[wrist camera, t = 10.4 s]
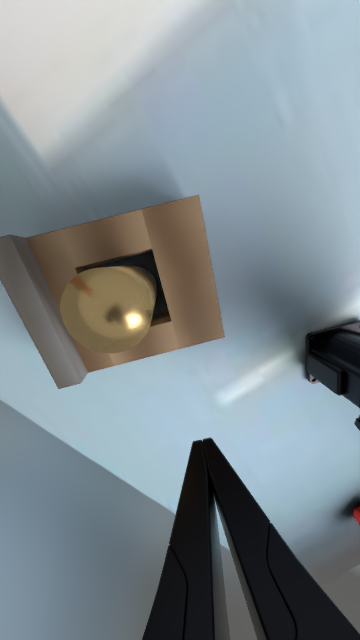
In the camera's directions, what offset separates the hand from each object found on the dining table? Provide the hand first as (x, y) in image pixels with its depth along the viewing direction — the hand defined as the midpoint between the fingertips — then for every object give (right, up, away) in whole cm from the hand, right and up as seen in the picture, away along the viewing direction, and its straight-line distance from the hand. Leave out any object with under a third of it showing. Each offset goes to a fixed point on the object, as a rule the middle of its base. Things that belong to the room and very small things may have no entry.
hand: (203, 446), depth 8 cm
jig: (-5, +8, +10) cm, 14 cm away
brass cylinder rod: (-5, +9, +10) cm, 14 cm away
